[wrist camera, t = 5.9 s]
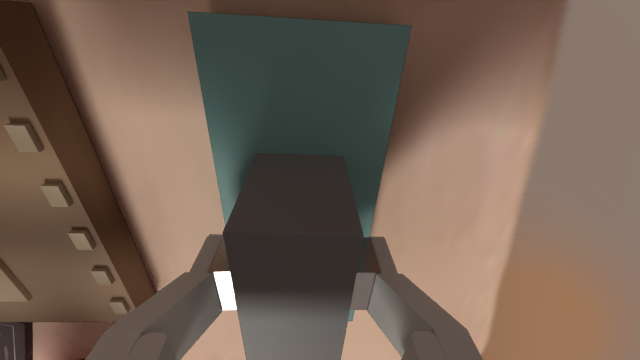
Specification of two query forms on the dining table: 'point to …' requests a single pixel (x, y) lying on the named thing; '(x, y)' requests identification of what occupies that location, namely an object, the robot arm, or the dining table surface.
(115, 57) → the dining table surface
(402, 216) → the dining table surface
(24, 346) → the chocolate bar
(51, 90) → the board
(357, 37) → the teal base gray block
